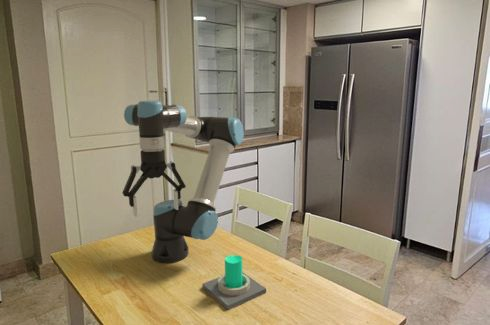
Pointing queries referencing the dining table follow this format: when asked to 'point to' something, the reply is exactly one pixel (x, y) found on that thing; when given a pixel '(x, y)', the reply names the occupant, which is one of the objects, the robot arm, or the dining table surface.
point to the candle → (233, 271)
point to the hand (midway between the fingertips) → (156, 212)
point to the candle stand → (233, 291)
